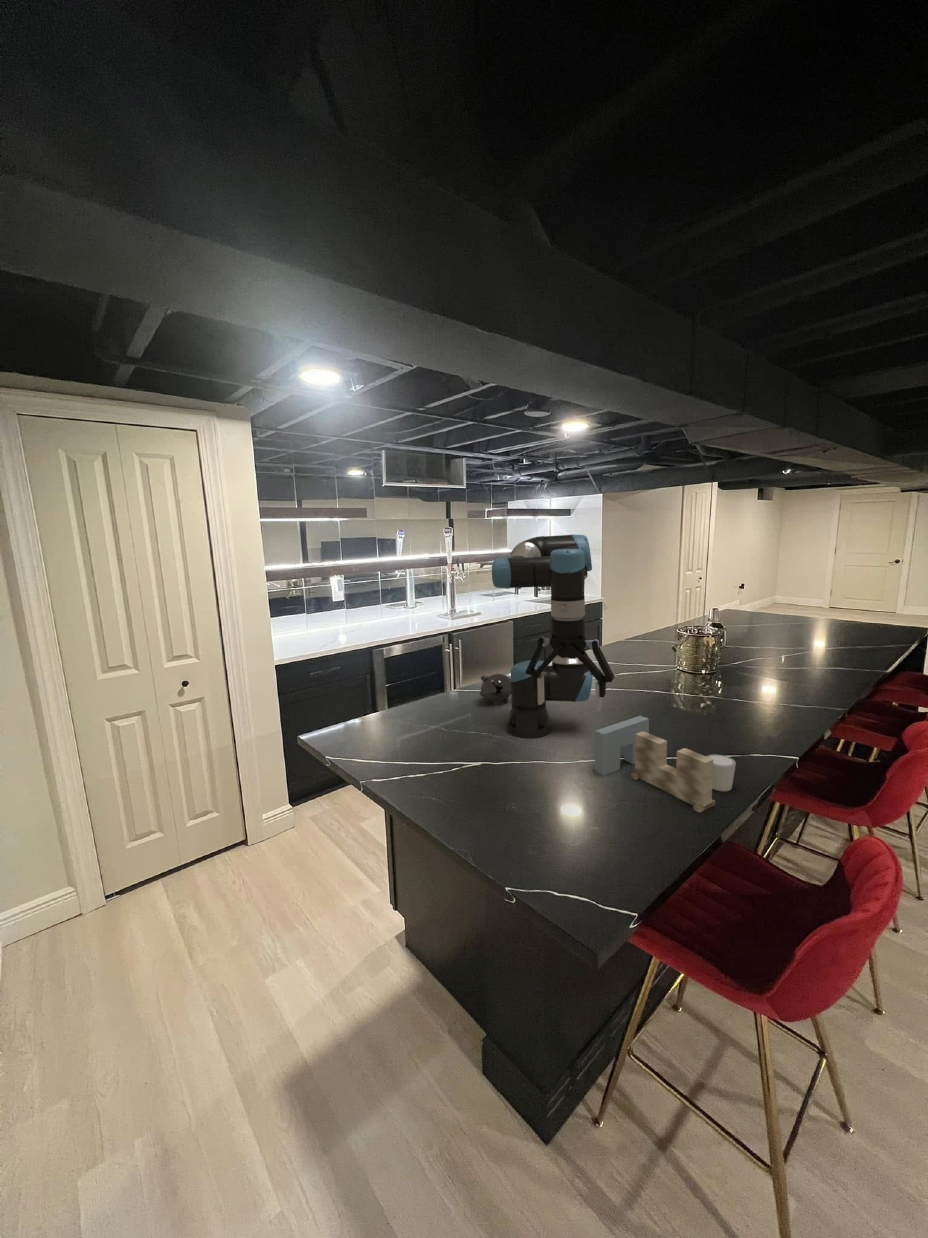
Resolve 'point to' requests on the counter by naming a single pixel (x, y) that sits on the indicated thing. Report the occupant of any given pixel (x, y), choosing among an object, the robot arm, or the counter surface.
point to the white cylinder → (722, 772)
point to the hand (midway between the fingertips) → (568, 706)
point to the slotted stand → (674, 771)
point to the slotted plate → (617, 744)
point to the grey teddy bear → (496, 688)
